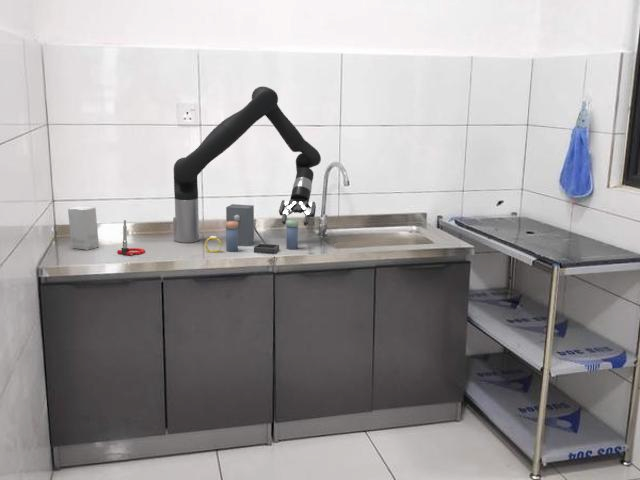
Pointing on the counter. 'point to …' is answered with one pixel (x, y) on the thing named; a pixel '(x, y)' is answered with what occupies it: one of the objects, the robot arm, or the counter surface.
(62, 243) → the counter surface
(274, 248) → the tray
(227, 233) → the terracotta cap cartridge
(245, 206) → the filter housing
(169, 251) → the counter surface
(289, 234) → the green cap cartridge
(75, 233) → the grey paper bag
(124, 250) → the tow hook
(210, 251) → the watch
